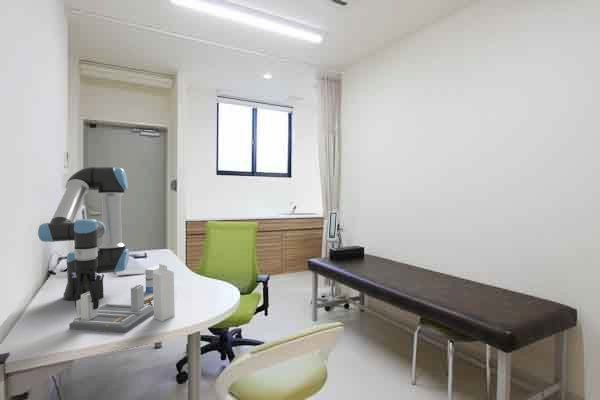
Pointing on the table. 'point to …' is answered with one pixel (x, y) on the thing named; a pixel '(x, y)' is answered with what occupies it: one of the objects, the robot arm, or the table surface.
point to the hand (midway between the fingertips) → (87, 316)
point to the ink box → (150, 278)
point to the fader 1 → (85, 306)
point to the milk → (163, 293)
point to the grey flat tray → (113, 318)
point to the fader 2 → (137, 298)
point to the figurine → (148, 301)
